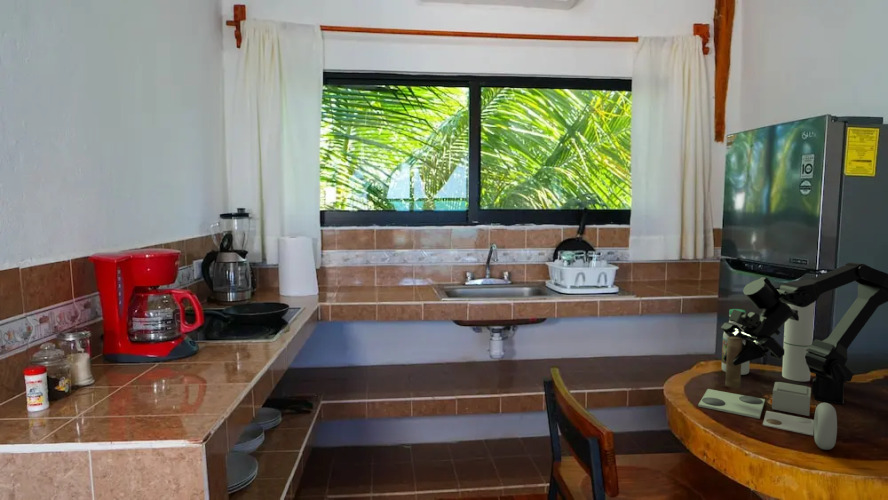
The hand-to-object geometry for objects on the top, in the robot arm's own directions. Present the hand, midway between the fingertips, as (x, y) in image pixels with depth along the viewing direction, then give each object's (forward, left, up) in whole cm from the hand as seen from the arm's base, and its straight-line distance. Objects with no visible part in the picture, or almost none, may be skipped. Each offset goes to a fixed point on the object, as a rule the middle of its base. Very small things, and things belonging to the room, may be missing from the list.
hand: (728, 362), depth 139 cm
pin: (-1, -1, -7) cm, 7 cm away
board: (-1, 0, -11) cm, 11 cm away
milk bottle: (+2, -31, -12) cm, 34 cm away
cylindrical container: (-14, -35, -12) cm, 40 cm away
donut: (-21, +17, -12) cm, 29 cm away
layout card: (-14, +6, -11) cm, 19 cm away
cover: (-14, -6, -11) cm, 19 cm away
